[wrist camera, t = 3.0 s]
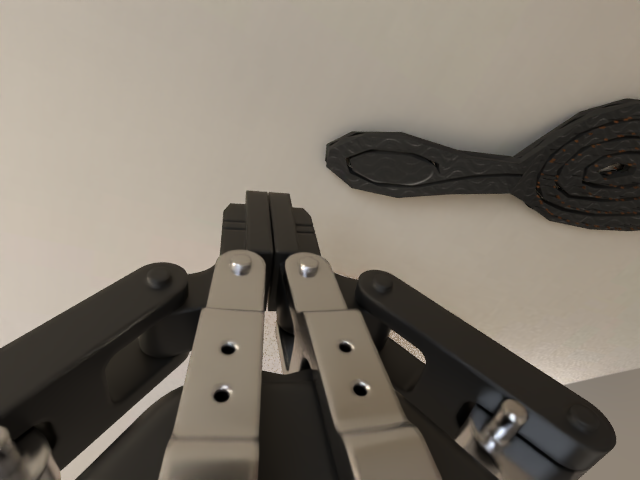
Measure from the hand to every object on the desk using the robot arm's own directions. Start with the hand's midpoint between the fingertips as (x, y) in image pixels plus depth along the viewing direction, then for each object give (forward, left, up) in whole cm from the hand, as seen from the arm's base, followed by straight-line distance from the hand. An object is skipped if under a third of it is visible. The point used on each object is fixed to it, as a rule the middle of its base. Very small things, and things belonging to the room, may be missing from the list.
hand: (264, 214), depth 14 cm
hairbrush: (0, +16, -8) cm, 18 cm away
